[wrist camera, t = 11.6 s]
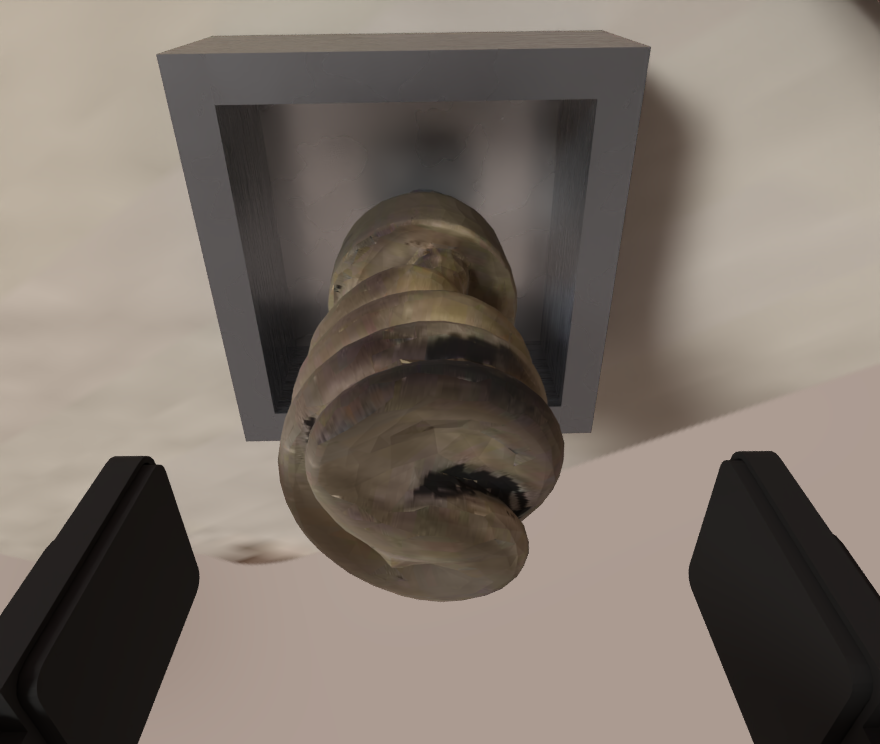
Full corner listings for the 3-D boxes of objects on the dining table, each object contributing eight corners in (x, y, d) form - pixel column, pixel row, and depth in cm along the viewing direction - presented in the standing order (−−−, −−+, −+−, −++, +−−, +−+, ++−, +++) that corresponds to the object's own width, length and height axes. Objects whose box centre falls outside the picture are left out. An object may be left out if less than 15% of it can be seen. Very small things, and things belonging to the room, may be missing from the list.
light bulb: (481, 300, 25) (546, 654, 12) (342, 287, 24) (260, 642, 12) (506, 155, 21) (628, 429, 9) (347, 137, 21) (241, 401, 9)
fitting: (602, 30, 20) (650, 46, 16) (564, 359, 27) (591, 432, 22) (212, 36, 20) (156, 54, 15) (273, 366, 26) (246, 441, 22)
